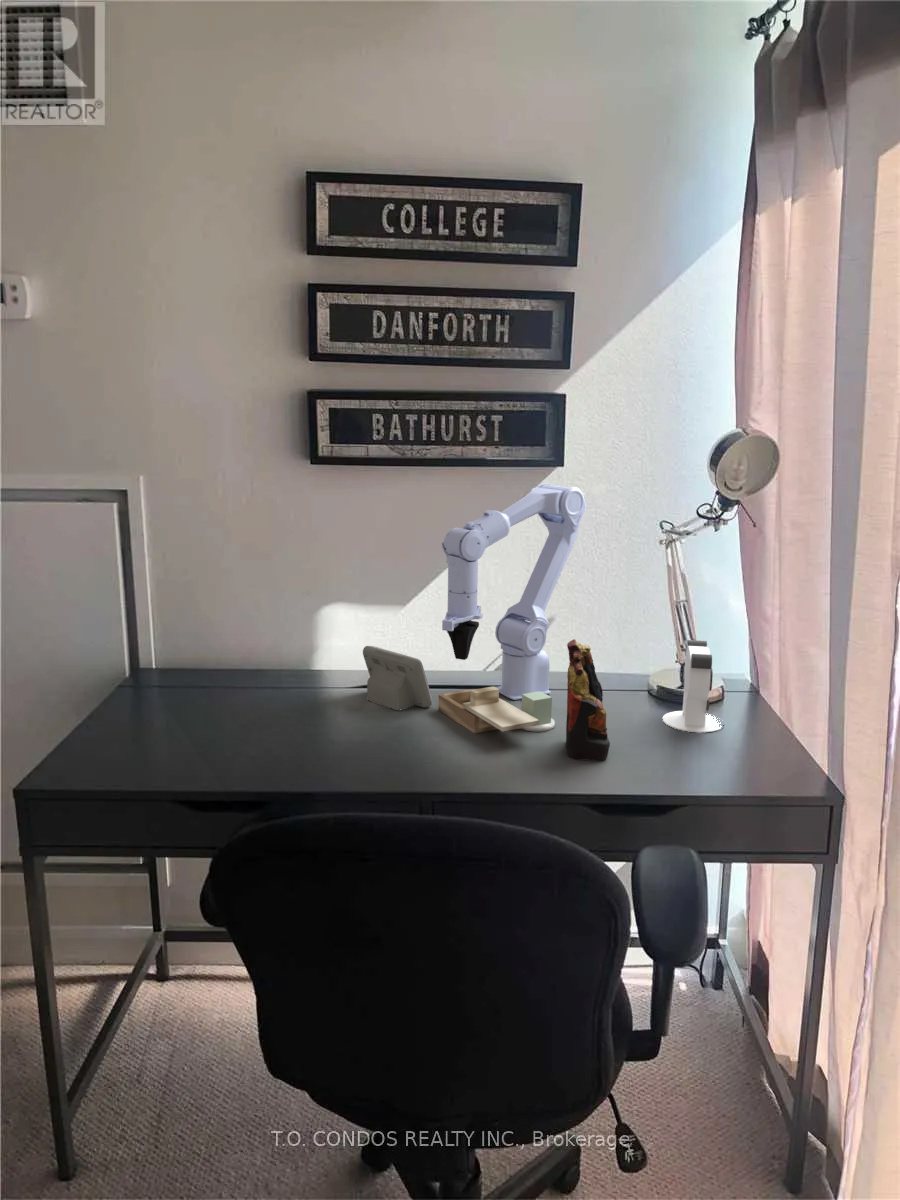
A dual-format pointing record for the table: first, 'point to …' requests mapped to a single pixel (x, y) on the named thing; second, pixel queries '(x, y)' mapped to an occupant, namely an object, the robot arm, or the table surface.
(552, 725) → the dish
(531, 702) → the green block
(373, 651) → the digital clock
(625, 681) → the table surface
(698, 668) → the white post on disc
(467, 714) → the pencil box
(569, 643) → the statue
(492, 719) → the lid
